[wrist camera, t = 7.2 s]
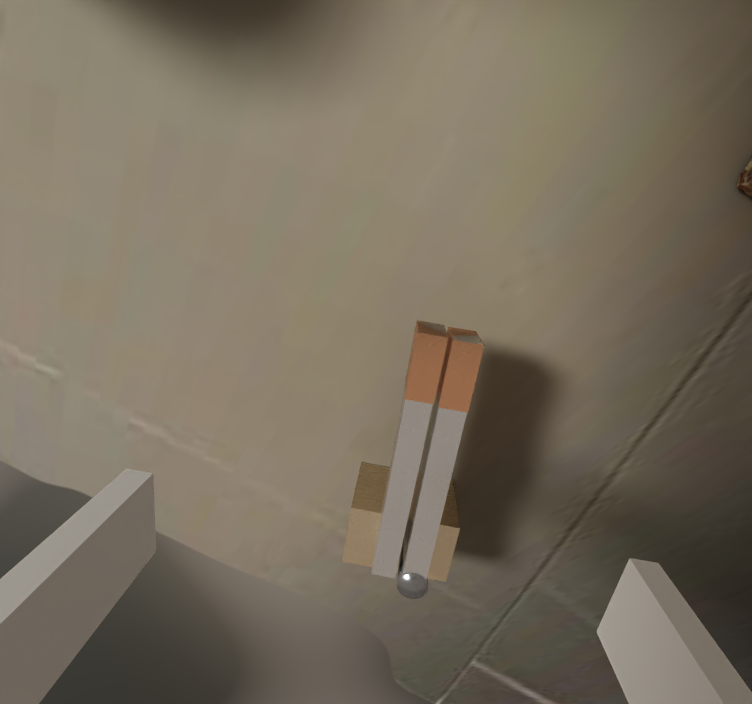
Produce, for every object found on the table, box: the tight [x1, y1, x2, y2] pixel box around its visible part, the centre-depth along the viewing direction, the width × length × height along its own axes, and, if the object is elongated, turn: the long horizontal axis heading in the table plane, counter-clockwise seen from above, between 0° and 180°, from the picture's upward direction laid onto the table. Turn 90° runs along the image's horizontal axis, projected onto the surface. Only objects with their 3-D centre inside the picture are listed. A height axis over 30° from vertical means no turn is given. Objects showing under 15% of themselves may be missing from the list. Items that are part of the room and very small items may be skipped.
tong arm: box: [397, 327, 485, 599], centre depth 26 cm, size 18×2×3 cm, turn 172°
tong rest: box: [342, 320, 460, 582], centre depth 29 cm, size 20×8×9 cm, turn 171°
